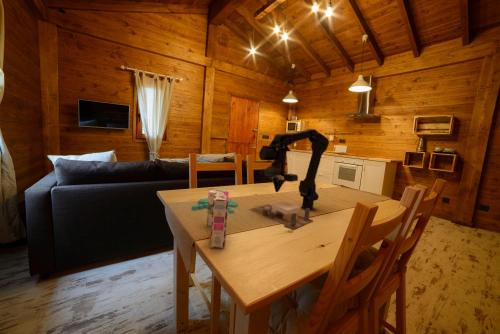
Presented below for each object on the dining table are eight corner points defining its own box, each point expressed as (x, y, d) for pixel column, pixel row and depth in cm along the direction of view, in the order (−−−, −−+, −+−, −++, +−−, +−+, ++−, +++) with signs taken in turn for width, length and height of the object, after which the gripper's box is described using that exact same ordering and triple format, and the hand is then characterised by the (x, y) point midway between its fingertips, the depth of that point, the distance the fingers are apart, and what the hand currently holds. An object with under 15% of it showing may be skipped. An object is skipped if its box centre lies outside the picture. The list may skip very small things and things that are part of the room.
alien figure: (233, 215, 103) (239, 203, 122) (233, 211, 102) (239, 199, 122) (191, 211, 104) (204, 199, 124) (191, 206, 104) (204, 195, 124)
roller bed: (268, 205, 121) (269, 194, 120) (312, 221, 102) (314, 209, 101) (247, 210, 109) (248, 199, 109) (293, 230, 91) (294, 216, 90)
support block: (288, 216, 105) (289, 208, 104) (297, 219, 101) (298, 212, 101) (282, 218, 101) (283, 210, 101) (291, 222, 98) (292, 214, 97)
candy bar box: (225, 249, 72) (228, 200, 70) (209, 248, 71) (212, 199, 69) (226, 233, 83) (229, 191, 81) (212, 233, 82) (215, 190, 80)
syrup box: (225, 224, 92) (227, 190, 89) (218, 229, 86) (221, 193, 84) (213, 221, 93) (215, 188, 91) (206, 226, 88) (207, 191, 86)
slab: (284, 204, 109) (285, 200, 109) (300, 210, 103) (300, 206, 103) (271, 208, 102) (272, 204, 102) (287, 214, 96) (287, 210, 96)
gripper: (254, 158, 106) (251, 189, 108) (286, 164, 93) (282, 199, 96) (268, 157, 114) (266, 187, 116) (300, 162, 101) (296, 195, 103)
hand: (276, 192), depth 108 cm, fingers closed
